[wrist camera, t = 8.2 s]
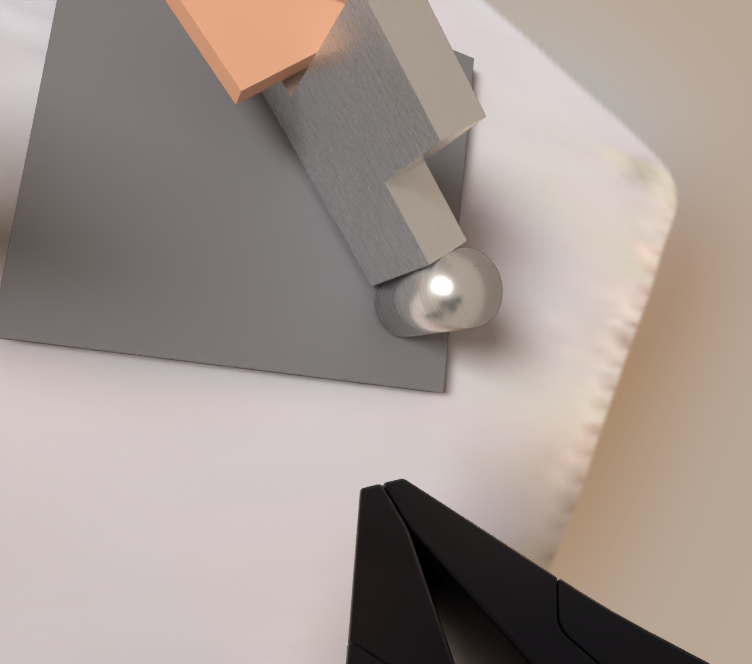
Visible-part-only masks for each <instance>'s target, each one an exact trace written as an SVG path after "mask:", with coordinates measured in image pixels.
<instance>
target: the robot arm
mask: <svg viewBox="0 0 752 664" xmlns="http://www.w3.org/2000/svg"><path fill="white" fill-rule="evenodd" d="M346 664H709V663H707V662H705V661H704V660H702V659H700V658H698V657H696V656H694V655H692V654H690V653H688V652H686V651H685V650H683V649H681V648H679V647H677V646H675V645H673V644H672V643H670V642H668V641H666V640H664V639H662V638H660V637H658V636H656V635H655V634H652V633H650V632H648V631H647V630H645V629H643V628H641V627H640V626H638V625H636V624H634V623H632V622H631V621H629V620H627V619H625V618H623V617H622V616H620V615H618V614H616V613H615V612H613V611H611V610H609V609H608V608H606V607H604V606H603V605H601V604H600V603H598V602H596V601H595V600H593V599H591V598H590V597H588V596H587V595H585V594H583V593H582V592H579V591H578V590H577V589H575V588H574V587H572V586H571V585H569V584H568V583H566V582H564V581H563V580H561V579H560V580H558V581H557V578H556V577H555V576H554V575H552V574H551V573H549V572H548V571H546V570H545V569H543V568H542V567H540V566H538V565H537V564H535V563H534V562H532V561H531V560H529V559H528V558H526V557H525V556H523V555H521V554H520V553H518V552H517V551H515V550H514V549H512V548H511V547H509V546H508V545H506V544H504V543H503V542H501V541H500V540H498V539H497V538H495V537H494V536H492V535H490V534H489V533H487V532H486V531H484V530H483V529H481V528H480V527H478V526H477V525H475V524H473V523H472V522H470V521H469V520H467V519H466V518H464V517H463V516H461V515H460V514H458V513H456V512H455V511H453V510H452V509H450V508H449V507H447V506H446V505H444V504H443V503H441V502H439V501H438V500H436V499H435V498H433V497H432V496H430V495H429V494H427V493H425V492H424V491H422V490H421V489H419V488H418V487H416V486H415V485H413V484H412V483H410V482H408V481H407V480H405V479H399V480H394V481H390V482H386V483H385V484H384V485H383V486H382V485H380V484H378V485H374V486H370V487H366V488H362V489H361V491H360V497H359V510H358V522H357V535H356V548H355V560H354V573H353V585H352V598H351V611H350V623H349V636H348V646H347V657H346Z"/></svg>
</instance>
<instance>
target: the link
mask: <svg viewBox="0 0 752 664" xmlns="http://www.w3.org/2000/svg"><path fill="white" fill-rule="evenodd" d="M261 92H262V94H263V96H264V98H265V99H266V101H267V103H268V105H269V106H270V108H271V110H272V112H273V113H274V115H275V117H276V119H277V120H278V122H279V124H280V126H281V128H282V129H283V131H284V133H285V135H286V136H287V138H288V140H289V142H290V143H291V145H292V147H293V149H294V150H295V152H296V154H297V156H298V157H299V159H300V161H301V163H302V164H303V166H304V168H305V170H306V172H307V173H308V175H309V177H310V179H311V180H312V182H313V184H314V186H315V187H316V189H317V191H318V193H319V194H320V196H321V198H322V200H323V201H324V203H325V205H326V207H327V208H328V210H329V212H330V214H331V215H332V217H333V219H334V221H335V223H336V224H337V226H338V228H339V230H340V231H341V233H342V235H343V237H344V238H345V240H346V242H347V244H348V245H349V247H350V249H351V251H352V252H353V254H354V256H355V258H356V259H357V261H358V263H359V265H360V267H361V268H362V270H363V272H364V274H365V275H366V277H367V279H368V281H369V282H370V284H371V286H374V285H376V284H379V283H380V285H379V286H378V288H377V291H376V294H375V299H374V307H375V312H376V316H377V318H378V320H379V322H380V323H381V325H382V326H383V327H384V328H385V329H386V330H387V331H388V332H390V333H391V334H393V335H396V336H399V337H412V336H419V335H426V334H433V333H440V332H447V331H454V330H461V329H468V328H475V327H480V326H482V325H484V324H486V323H488V322H489V321H490V320H491V319H492V318H493V317H494V316H495V314H496V313H497V311H498V309H499V307H500V304H501V300H502V281H501V277H500V274H499V272H498V270H497V268H496V266H495V265H494V263H493V262H492V261H491V259H490V258H489V257H488V256H486V255H485V254H484V253H482V252H480V251H478V250H476V249H472V248H459V249H456V250H454V249H455V248H457V247H458V246H460V245H462V244H463V243H465V242H466V241H467V240H466V238H465V236H464V234H463V232H462V230H461V228H460V227H459V225H458V223H457V221H456V219H455V217H454V215H453V213H452V212H451V210H450V208H449V206H448V204H447V202H446V200H445V198H444V196H443V195H442V193H441V191H440V189H439V187H438V185H437V183H436V181H435V180H434V178H433V176H432V174H431V172H430V170H429V168H428V166H427V165H426V163H425V161H426V160H427V159H428V158H430V157H431V156H433V155H434V154H435V153H437V152H438V151H439V150H441V149H442V148H444V147H445V146H446V145H448V144H449V143H450V142H452V141H453V140H455V139H456V138H457V137H459V136H460V135H462V134H463V133H464V132H466V131H467V130H468V129H470V128H471V127H473V126H474V125H475V124H477V123H478V122H479V121H481V120H482V119H484V118H485V117H486V115H485V113H484V111H483V109H482V107H481V105H480V103H479V101H478V99H477V97H476V95H475V93H474V91H473V89H472V87H471V85H470V83H469V81H468V79H467V77H466V75H465V73H464V71H463V69H462V67H461V65H460V64H459V62H458V60H457V58H456V56H455V54H454V52H453V50H452V48H451V46H450V44H449V42H448V40H447V38H446V36H445V34H444V32H443V30H442V28H441V26H440V24H439V22H438V20H437V18H436V16H435V14H434V12H433V10H432V8H431V6H430V4H429V2H428V0H347V2H346V4H345V5H344V7H343V9H342V11H341V12H340V14H339V16H338V17H337V19H336V21H335V23H334V24H333V26H332V28H331V29H330V31H329V33H328V34H327V36H326V38H325V40H324V41H323V43H322V45H321V46H320V48H319V50H318V52H317V53H316V55H315V57H314V58H313V60H312V62H311V63H310V65H309V67H307V68H306V69H304V70H302V71H300V72H298V73H296V74H294V75H292V76H290V77H288V78H286V79H284V80H282V81H281V82H279V83H277V84H275V85H273V86H271V87H269V88H267V89H265V90H263V91H261ZM452 250H453V251H452Z"/></svg>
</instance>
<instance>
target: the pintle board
mask: <svg viewBox="0 0 752 664" xmlns="http://www.w3.org/2000/svg"><path fill="white" fill-rule="evenodd" d="M346 2H347V0H57V3H56V8H55V14H54V19H53V24H52V29H51V34H50V39H49V44H48V49H47V54H46V59H45V64H44V69H43V74H42V79H41V84H40V89H39V94H38V99H37V105H36V110H35V115H34V120H33V125H32V130H31V135H30V140H29V145H28V150H27V155H26V160H25V165H24V170H23V175H22V180H21V185H20V191H19V196H18V201H17V206H16V211H15V216H14V221H13V226H12V231H11V236H10V241H9V246H8V251H7V256H6V261H5V266H4V271H3V276H2V282H1V287H0V338H2V339H10V340H18V341H26V342H35V343H43V344H51V345H59V346H67V347H75V348H83V349H91V350H99V351H107V352H115V353H123V354H131V355H139V356H148V357H156V358H164V359H172V360H180V361H188V362H196V363H204V364H212V365H220V366H228V367H236V368H244V369H252V370H260V371H269V372H277V373H285V374H293V375H301V376H309V377H317V378H325V379H333V380H341V381H349V382H357V383H365V384H373V385H382V386H390V387H398V388H406V389H414V390H422V391H430V392H443V390H444V379H445V368H446V357H447V346H448V335H449V331H447V332H440V333H433V334H426V335H419V336H412V337H399V336H396V335H393V334H391V333H390V332H388V331H387V330H386V329H385V328H384V327H383V326H382V325H381V323H380V322H379V320H378V318H377V316H376V312H375V307H374V299H375V294H376V291H377V288H378V286H379V285H380V283H379V284H376V285H374V286H371V284H370V282H369V281H368V279H367V277H366V275H365V274H364V272H363V270H362V268H361V267H360V265H359V263H358V261H357V259H356V258H355V256H354V254H353V252H352V251H351V249H350V247H349V245H348V244H347V242H346V240H345V238H344V237H343V235H342V233H341V231H340V230H339V228H338V226H337V224H336V223H335V221H334V219H333V217H332V215H331V214H330V212H329V210H328V208H327V207H326V205H325V203H324V201H323V200H322V198H321V196H320V194H319V193H318V191H317V189H316V187H315V186H314V184H313V182H312V180H311V179H310V177H309V175H308V173H307V172H306V170H305V168H304V166H303V164H302V163H301V161H300V159H299V157H298V156H297V154H296V152H295V150H294V149H293V147H292V145H291V143H290V142H289V140H288V138H287V136H286V135H285V133H284V131H283V129H282V128H281V126H280V124H279V122H278V120H277V119H276V117H275V115H274V113H273V112H272V110H271V108H270V106H269V105H268V103H267V101H266V99H265V98H264V96H263V94H262V92H261V91H263V90H265V89H267V88H269V87H271V86H273V85H275V84H277V83H279V82H281V81H282V80H284V79H286V78H288V77H290V76H292V75H294V74H296V73H298V72H300V71H302V70H304V69H306V68H307V67H309V65H310V63H311V62H312V60H313V58H314V57H315V55H316V53H317V52H318V50H319V48H320V46H321V45H322V43H323V41H324V40H325V38H326V36H327V34H328V33H329V31H330V29H331V28H332V26H333V24H334V23H335V21H336V19H337V17H338V16H339V14H340V12H341V11H342V9H343V7H344V5H345V4H346ZM453 52H454V54H455V56H456V58H457V60H458V62H459V64H460V65H461V67H462V69H463V71H464V73H465V75H466V77H467V79H468V81H469V83H470V85H472V74H473V63H474V58H471V57H469V56H467V55H464V54H462V53H459V52H457V51H454V50H453ZM466 139H467V131H466V132H464V133H463V134H462V135H460V136H459V137H457V138H456V139H455V140H453V141H452V142H450V143H449V144H448V145H446V146H445V147H444V148H442V149H441V150H439V151H438V152H437V153H435V154H434V155H433V156H431V157H430V158H428V159H427V160H426V161H425V163H426V165H427V166H428V168H429V170H430V172H431V174H432V176H433V178H434V180H435V181H436V183H437V185H438V187H439V189H440V191H441V193H442V195H443V196H444V198H445V200H446V202H447V204H448V206H449V208H450V210H451V212H452V213H453V215H454V217H455V219H456V221H457V223H458V225H459V215H460V205H461V194H462V183H463V172H464V161H465V150H466ZM454 250H456V248H455V249H454ZM452 251H453V250H452Z"/></svg>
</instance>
